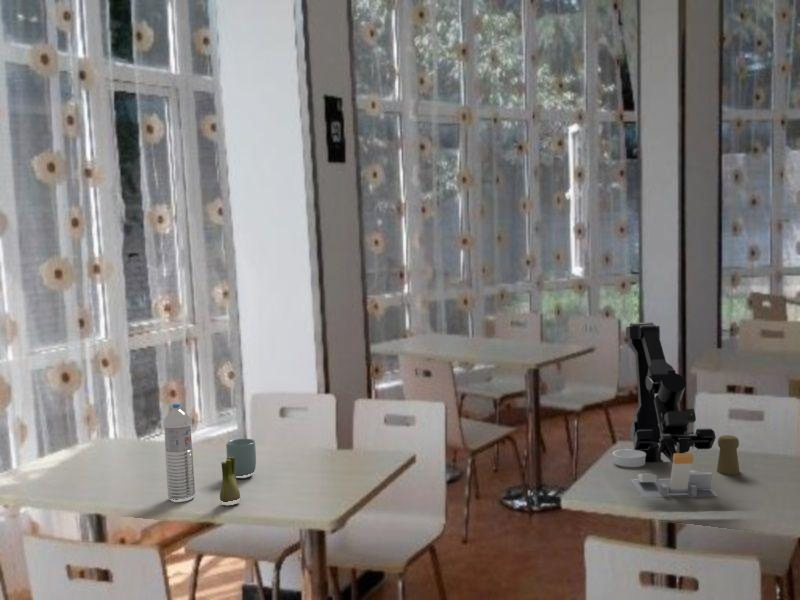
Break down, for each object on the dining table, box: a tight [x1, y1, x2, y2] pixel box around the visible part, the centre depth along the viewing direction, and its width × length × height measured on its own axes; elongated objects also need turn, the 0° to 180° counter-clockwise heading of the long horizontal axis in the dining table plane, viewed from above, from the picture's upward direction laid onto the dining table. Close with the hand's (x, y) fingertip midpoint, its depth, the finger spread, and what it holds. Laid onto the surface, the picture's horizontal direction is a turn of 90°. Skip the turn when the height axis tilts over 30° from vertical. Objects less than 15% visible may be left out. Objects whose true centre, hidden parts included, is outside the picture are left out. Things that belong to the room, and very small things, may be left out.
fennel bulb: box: [219, 456, 241, 502], centre depth 222 cm, size 6×5×12 cm
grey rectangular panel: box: [688, 471, 713, 489], centre depth 216 cm, size 1×6×5 cm, turn 86°
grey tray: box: [629, 477, 719, 498], centre depth 220 cm, size 15×18×4 cm
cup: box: [225, 438, 257, 476], centre depth 245 cm, size 8×8×10 cm
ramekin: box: [612, 448, 646, 468], centre depth 242 cm, size 9×9×4 cm
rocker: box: [637, 473, 658, 482], centre depth 222 cm, size 5×4×2 cm
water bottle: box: [163, 402, 196, 500], centre depth 227 cm, size 7×7×25 cm
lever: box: [668, 452, 694, 494], centre depth 211 cm, size 2×4×12 cm, turn 86°
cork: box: [716, 434, 741, 476], centre depth 231 cm, size 6×6×11 cm
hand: (680, 470), depth 211 cm, fingers closed, pressing on lever
